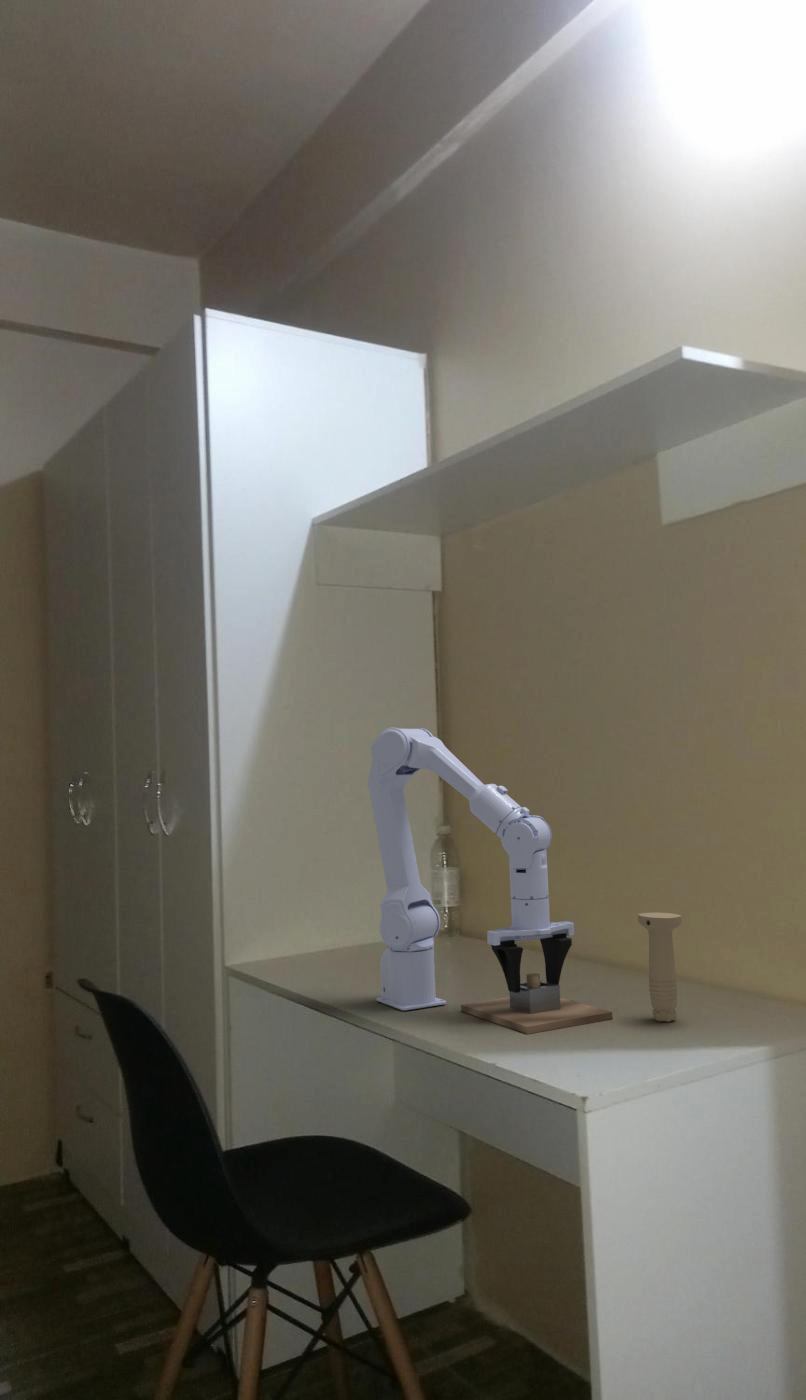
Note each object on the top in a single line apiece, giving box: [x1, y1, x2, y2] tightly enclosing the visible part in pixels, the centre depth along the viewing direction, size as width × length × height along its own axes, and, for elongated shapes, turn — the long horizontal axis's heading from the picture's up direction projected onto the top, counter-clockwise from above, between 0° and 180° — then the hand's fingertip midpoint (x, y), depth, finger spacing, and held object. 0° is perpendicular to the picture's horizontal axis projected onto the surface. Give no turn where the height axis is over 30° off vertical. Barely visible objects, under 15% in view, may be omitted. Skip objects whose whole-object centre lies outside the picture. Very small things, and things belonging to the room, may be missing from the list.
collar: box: [509, 979, 561, 1014], centre depth 167 cm, size 5×5×4 cm
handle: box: [637, 911, 683, 1023], centre depth 162 cm, size 5×6×15 cm
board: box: [460, 972, 613, 1035], centre depth 168 cm, size 18×15×6 cm
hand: (533, 988), depth 168 cm, fingers open, 6 cm apart
